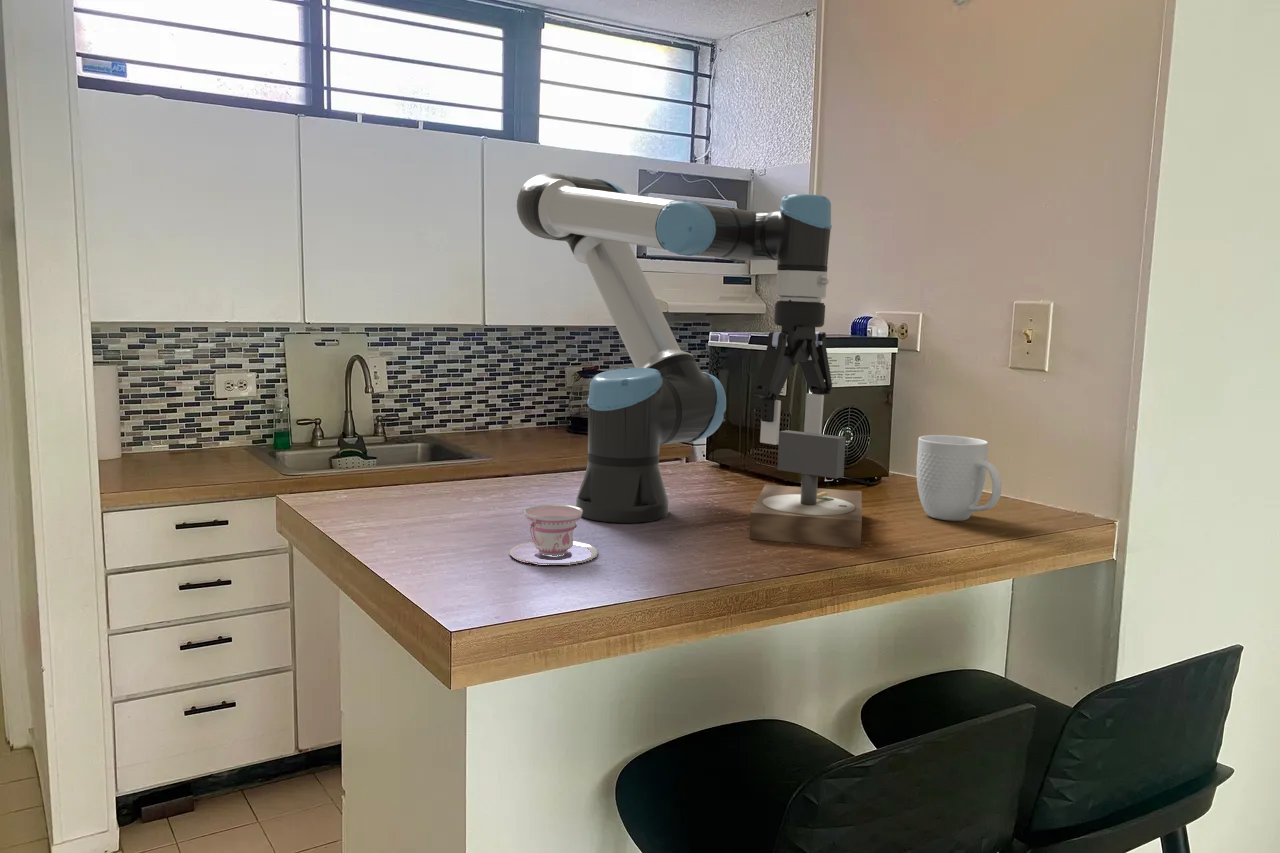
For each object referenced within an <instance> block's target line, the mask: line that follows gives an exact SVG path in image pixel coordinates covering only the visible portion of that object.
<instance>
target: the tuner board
mask: <svg viewBox="0 0 1280 853" xmlns="http://www.w3.org/2000/svg"><path fill="white" fill-rule="evenodd" d="M821 492H827V495H826V496H823V497H820V498H817V500H816V504H815V505H805V504H801V503H800V502H801V486H792V485H791V486H790V485H787V486H786V485H777V484H776V485H775V484H764V486H763V488H762V490H761V491H760V494H759V496H758V497H757V499H756V501H755V503H754V504H753V506H752V507H751V510H750V511H749V530H748V531H749V532H748V535H749V536H748V539H749V540H757V541H758V540H759V541H771V542H773V541H774V542H783V543H784V542H785V543H795V544H807V545H808V544H809V545H820V546H822V545H823V546H830V547H831V546H832V547H845V548H856V549H857V548H858V549H861V545H862V544H861V542H862V527H863V526H862V524H863V501H862V500H863V498H862V497H863V496H862V493H863V492H862V491H861V490H850V489H849V490H848V489H847V490H846V489H831V488H818V487H817V494H818V493H821Z"/></svg>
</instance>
